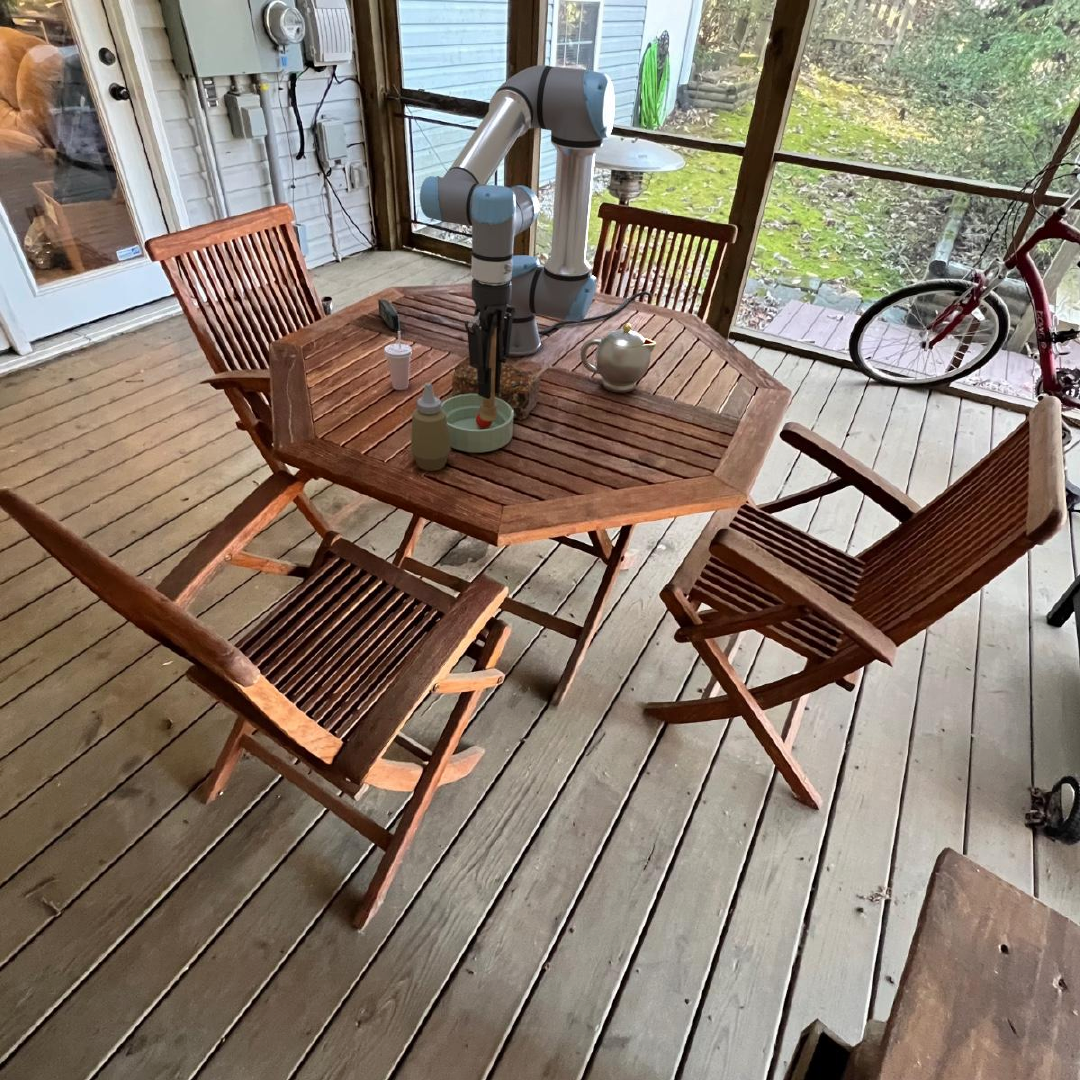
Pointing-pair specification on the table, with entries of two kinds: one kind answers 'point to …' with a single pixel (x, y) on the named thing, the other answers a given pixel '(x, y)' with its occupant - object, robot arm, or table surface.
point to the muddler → (488, 405)
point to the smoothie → (398, 363)
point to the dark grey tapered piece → (389, 314)
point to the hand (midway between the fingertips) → (488, 393)
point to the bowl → (466, 429)
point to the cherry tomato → (482, 422)
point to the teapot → (620, 358)
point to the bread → (501, 386)
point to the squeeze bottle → (430, 432)
